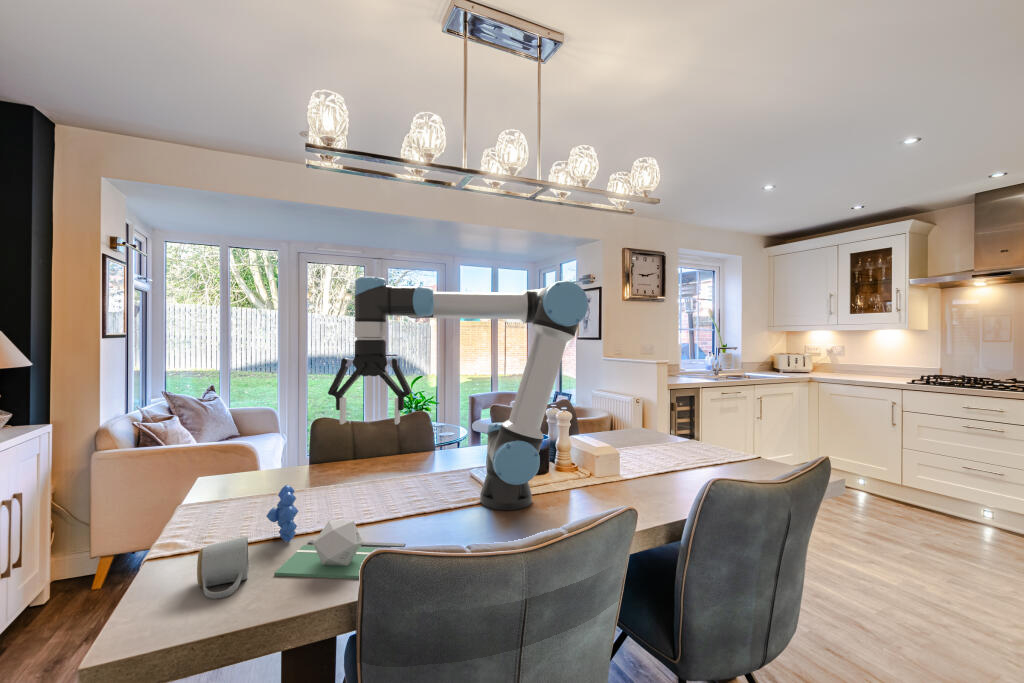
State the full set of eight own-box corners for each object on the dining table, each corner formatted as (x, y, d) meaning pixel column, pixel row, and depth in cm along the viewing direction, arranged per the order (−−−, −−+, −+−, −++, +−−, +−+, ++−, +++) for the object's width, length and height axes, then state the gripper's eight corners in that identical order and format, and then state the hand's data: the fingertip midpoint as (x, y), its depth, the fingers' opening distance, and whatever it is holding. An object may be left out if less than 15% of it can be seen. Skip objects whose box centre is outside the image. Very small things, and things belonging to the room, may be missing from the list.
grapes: (264, 532, 110) (264, 482, 110) (295, 526, 113) (295, 478, 113) (267, 552, 100) (268, 497, 100) (301, 545, 103) (302, 492, 103)
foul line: (404, 544, 105) (404, 543, 105) (403, 547, 104) (403, 545, 104) (310, 541, 106) (310, 540, 106) (307, 543, 104) (307, 542, 104)
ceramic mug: (200, 576, 89) (200, 538, 89) (248, 567, 93) (249, 530, 93) (193, 606, 80) (194, 563, 80) (247, 594, 84) (248, 553, 84)
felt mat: (401, 551, 102) (401, 548, 102) (384, 579, 90) (385, 576, 90) (303, 547, 102) (303, 544, 102) (274, 575, 90) (274, 572, 90)
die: (331, 581, 89) (364, 534, 92) (296, 553, 91) (330, 508, 94) (346, 575, 97) (376, 532, 100) (314, 550, 99) (344, 508, 102)
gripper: (422, 339, 119) (422, 420, 120) (326, 338, 119) (326, 420, 119) (417, 339, 112) (417, 426, 112) (314, 338, 111) (314, 426, 112)
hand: (370, 423), depth 116 cm, fingers open, 13 cm apart
